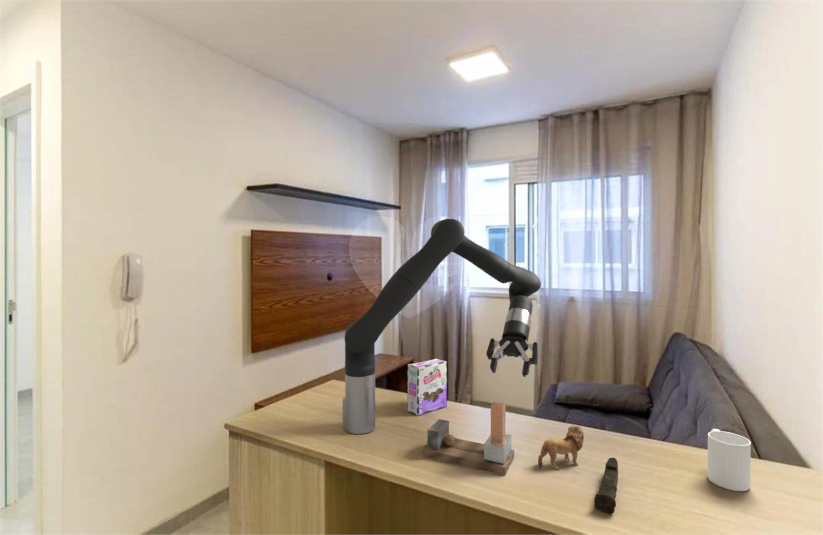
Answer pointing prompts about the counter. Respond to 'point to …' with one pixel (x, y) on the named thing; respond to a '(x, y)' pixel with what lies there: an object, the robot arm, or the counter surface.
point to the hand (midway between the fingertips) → (508, 373)
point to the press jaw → (498, 436)
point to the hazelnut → (449, 440)
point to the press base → (461, 451)
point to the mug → (729, 460)
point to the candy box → (427, 386)
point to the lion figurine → (563, 446)
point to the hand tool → (608, 488)
